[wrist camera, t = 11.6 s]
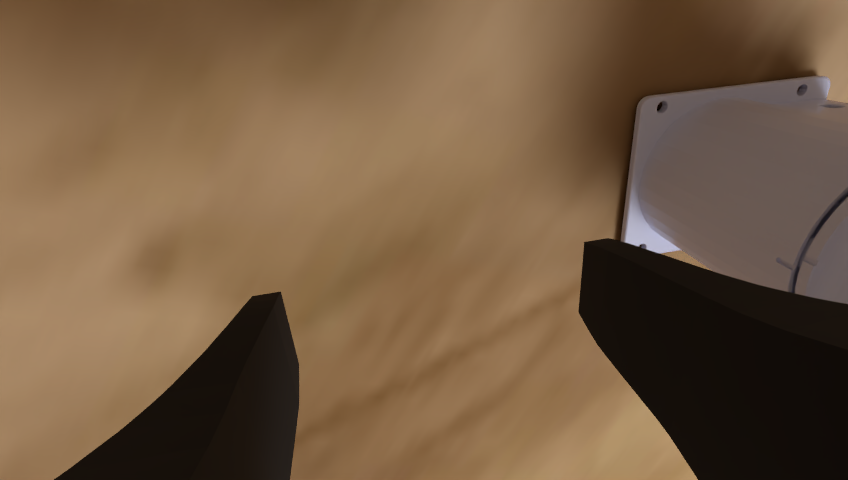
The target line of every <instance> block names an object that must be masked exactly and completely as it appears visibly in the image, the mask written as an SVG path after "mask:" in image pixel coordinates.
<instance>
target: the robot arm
mask: <svg viewBox="0 0 848 480" xmlns="http://www.w3.org/2000/svg"><path fill="white" fill-rule="evenodd" d="M799 87H800V89H799V91H798V92H797V90H798V88H799ZM829 88H830V80H829V78H828V77H825V76H810V77H801V78H793V79H784V80H776V81H768V82H759V83H751V84H742V85H734V86H725V87H717V88H708V89H700V90H692V91H683V92H675V93H666V94H658V95H649V96H646V97H644V98H643V99H641V100H640V102H639V103H638V106H637V110H636V118H635V126H634V135H633V143H632V151H631V159H630V168H629V176H628V184H627V192H626V201H625V209H624V217H623V225H622V233H621V241H618V240H614V239H609V238H607V239H601V240H595V241H589V242H584V254H583V266H582V278H581V290H580V302H579V314H580V316H581V317H582V319H583V321H584V323H585V325H586V326H587V328H588V330H589V332H590V333H591V335H592V336H593V338H594V340H595V341H596V343H597V345H598V346H599V347H600V349H601V350H602V351H603V352H604V354H605V355H606V356H607V358H608V359H609V360H610V361H611V363H612V364H613V365H614V366H615V368H616V369H617V370H618V371H619V373H620V374H621V375H622V376H623V378H624V379H625V380H626V381H627V382H628V384H629V385H630V386H631V387H632V389H633V390H634V391H635V392H636V394H637V395H638V396H639V397H640V399H641V400H642V401H643V402H644V403H645V405H646V406H647V407H648V408H649V410H650V411H651V412H652V413H653V415H654V416H655V417H656V418H657V420H658V421H659V422H660V424H661V425H662V426H663V428H664V429H665V430H666V432H667V433H668V434H669V436H670V437H671V439H672V440H673V442H674V443H675V445H676V446H677V448H678V449H679V451H680V452H681V454H682V456H683V457H684V459H685V460H686V462H687V463H688V465H689V466H690V468H691V469H692V471H693V472H694V474H695V475H696V477H697V479H698V480H848V103H843V102H837V101H831V100H826V98H827V94H828V91H829ZM660 102H662V107H661V109H660V110H659V111H657V106H658V104H659V103H660ZM641 244H642V246H641V247H638V246H639V245H641ZM677 250H682V251H684V252H685V253H687V254H688V255H690V256H691V257H693V258H694V259H696V260H697V261H699V262H700V263H702V264H703V265H705V266H706V267H708V268H709V269H711V270H712V271H710V270H707V269H704V268H701V267H698V266H695V265H692V264H689V263H686V262H683V261H680V260H677V259H674V258H671V257H668V256H665V255H662V254H659V253H665V252H671V251H677ZM713 271H714V272H713ZM298 409H299V363H298V359H297V355H296V351H295V347H294V343H293V339H292V335H291V331H290V327H289V323H288V319H287V315H286V311H285V307H284V303H283V299H282V295H281V292H276V293H270V294H263V295H257V296H252V297H251V299H250V300H249V301H248V302H247V303H246V304H245V305H244V306H243V308H242V309H241V310H240V311H239V312H238V314H237V315H236V316H235V317H234V318H233V320H232V321H231V322H230V323H229V324H228V325H227V327H226V328H225V329H224V330H223V331H222V332H221V333H220V335H219V336H218V337H217V338H216V339H215V340H214V341H213V343H212V344H211V345H210V346H209V347H208V348H207V349H206V351H205V352H204V353H203V354H202V355H201V356H200V357H199V358H198V359H197V360H196V361H195V362H194V363H193V364H192V365H191V366H190V367H189V368H188V369H187V370H186V371H185V372H184V373H183V374H182V375H181V376H180V377H179V378H178V379H177V380H176V381H175V382H174V383H173V384H172V385H171V386H170V387H169V388H168V389H167V390H166V391H165V392H164V393H163V394H162V395H161V396H160V397H159V398H157V399H156V400H155V401H154V402H153V403H152V404H151V405H150V406H149V407H147V408H146V409H145V410H144V411H143V412H142V413H140V414H139V415H138V416H137V417H136V418H135V419H133V420H132V421H131V422H130V423H129V424H127V425H126V426H125V427H124V428H123V429H121V430H120V431H119V432H118V433H116V434H115V435H114V436H112V437H111V438H110V439H108V440H107V441H106V442H104V443H103V444H102V445H100V446H99V447H98V448H96V449H95V450H94V451H92V452H91V453H90V454H88V455H87V456H86V457H84V458H83V459H82V460H80V461H79V462H78V463H76V464H75V465H74V466H73V467H71V468H70V469H68V470H67V471H66V472H64V473H63V474H61V475H60V476H59V477H57V478H56V479H54V480H290V474H291V466H292V458H293V450H294V442H295V434H296V426H297V418H298Z"/></svg>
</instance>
